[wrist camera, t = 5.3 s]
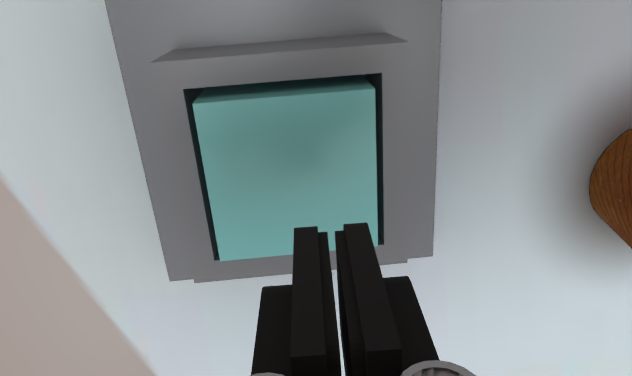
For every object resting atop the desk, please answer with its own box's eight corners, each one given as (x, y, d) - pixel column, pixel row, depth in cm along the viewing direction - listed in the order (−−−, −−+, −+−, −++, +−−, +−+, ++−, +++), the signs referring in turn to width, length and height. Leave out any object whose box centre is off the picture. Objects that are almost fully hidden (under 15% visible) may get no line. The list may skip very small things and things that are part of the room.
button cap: (358, 70, 20) (374, 88, 16) (362, 204, 22) (378, 246, 19) (209, 82, 20) (192, 103, 16) (230, 216, 22) (220, 261, 19)
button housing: (434, -32, 20) (480, -38, 16) (426, 244, 26) (458, 302, 21) (112, -8, 20) (59, -7, 15) (174, 268, 25) (149, 333, 21)
